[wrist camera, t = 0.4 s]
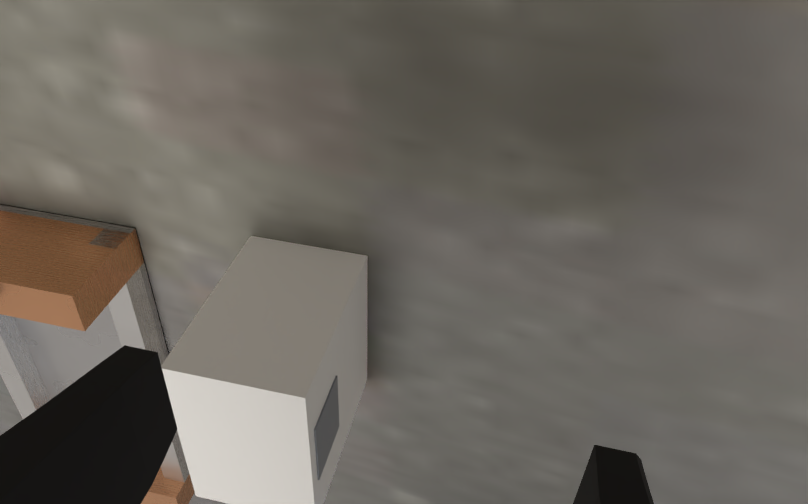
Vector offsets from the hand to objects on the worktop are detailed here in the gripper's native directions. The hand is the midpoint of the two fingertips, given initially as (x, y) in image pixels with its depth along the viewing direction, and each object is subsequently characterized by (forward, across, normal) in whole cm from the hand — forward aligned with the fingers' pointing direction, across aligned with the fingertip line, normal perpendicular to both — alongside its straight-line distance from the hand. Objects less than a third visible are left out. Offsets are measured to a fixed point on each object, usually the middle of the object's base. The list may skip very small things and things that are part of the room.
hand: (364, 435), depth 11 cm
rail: (+10, +14, +12) cm, 21 cm away
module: (+10, +4, +7) cm, 13 cm away
